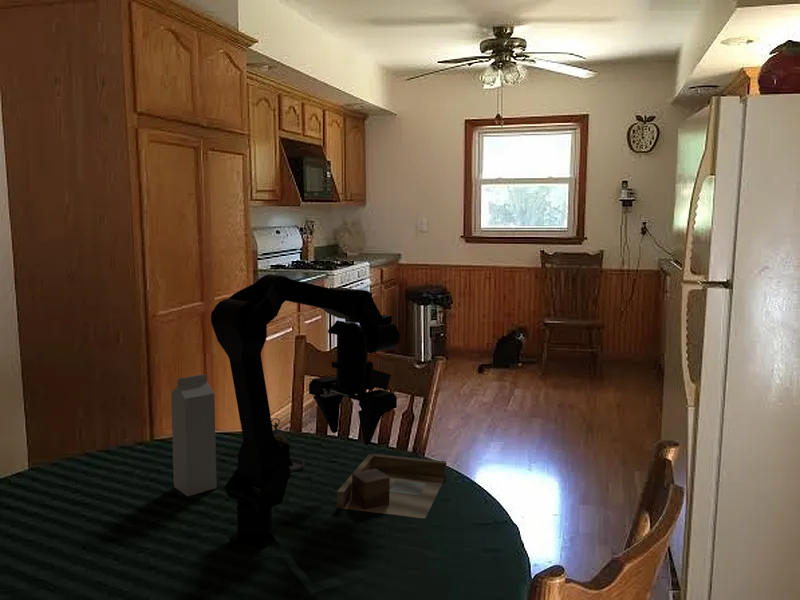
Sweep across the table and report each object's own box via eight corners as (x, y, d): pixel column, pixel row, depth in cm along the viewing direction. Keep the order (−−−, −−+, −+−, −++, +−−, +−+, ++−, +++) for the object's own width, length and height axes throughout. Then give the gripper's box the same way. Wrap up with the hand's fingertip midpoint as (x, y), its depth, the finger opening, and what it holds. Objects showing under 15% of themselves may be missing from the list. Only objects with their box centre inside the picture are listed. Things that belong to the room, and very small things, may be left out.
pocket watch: (301, 474, 138) (301, 427, 137) (260, 473, 139) (259, 426, 137) (307, 460, 147) (307, 415, 145) (268, 459, 147) (268, 414, 146)
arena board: (424, 524, 117) (425, 501, 117) (337, 512, 121) (337, 491, 120) (445, 480, 136) (446, 461, 136) (369, 472, 140) (369, 453, 140)
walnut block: (389, 503, 123) (389, 477, 122) (364, 509, 120) (364, 482, 119) (375, 494, 127) (376, 468, 126) (352, 499, 124) (352, 473, 124)
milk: (216, 488, 131) (215, 377, 128) (187, 497, 127) (184, 382, 124) (202, 479, 135) (200, 371, 133) (172, 487, 131) (170, 375, 128)
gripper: (418, 358, 125) (416, 441, 127) (351, 344, 138) (349, 419, 139) (374, 367, 117) (373, 454, 119) (307, 350, 130) (306, 430, 132)
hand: (350, 438), depth 127 cm, fingers open, 9 cm apart
